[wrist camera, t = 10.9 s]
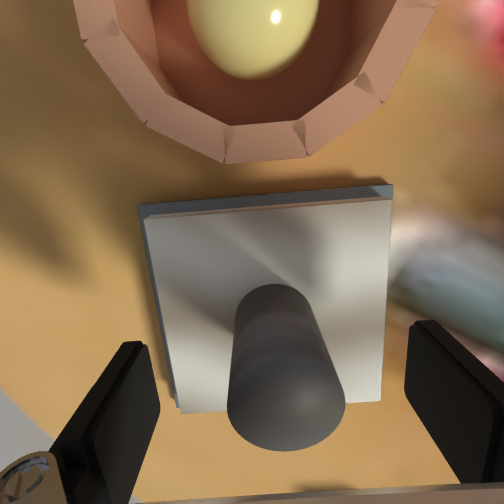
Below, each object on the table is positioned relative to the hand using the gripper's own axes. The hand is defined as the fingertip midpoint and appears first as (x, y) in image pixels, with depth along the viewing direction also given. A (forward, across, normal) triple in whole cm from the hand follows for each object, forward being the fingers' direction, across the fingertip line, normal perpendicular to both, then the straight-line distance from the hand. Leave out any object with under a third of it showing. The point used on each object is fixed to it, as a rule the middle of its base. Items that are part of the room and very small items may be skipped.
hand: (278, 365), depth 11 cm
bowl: (+4, 0, -12) cm, 12 cm away
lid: (+4, 0, 0) cm, 4 cm away
